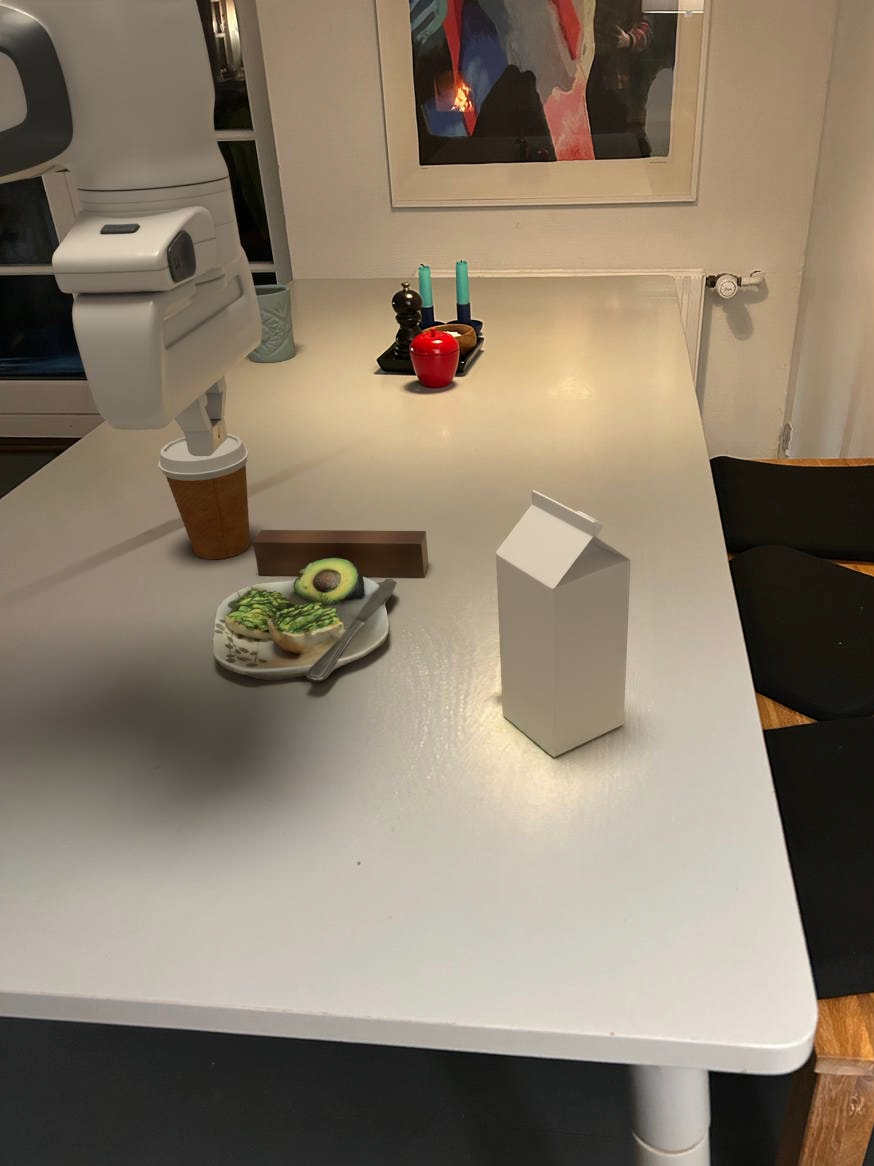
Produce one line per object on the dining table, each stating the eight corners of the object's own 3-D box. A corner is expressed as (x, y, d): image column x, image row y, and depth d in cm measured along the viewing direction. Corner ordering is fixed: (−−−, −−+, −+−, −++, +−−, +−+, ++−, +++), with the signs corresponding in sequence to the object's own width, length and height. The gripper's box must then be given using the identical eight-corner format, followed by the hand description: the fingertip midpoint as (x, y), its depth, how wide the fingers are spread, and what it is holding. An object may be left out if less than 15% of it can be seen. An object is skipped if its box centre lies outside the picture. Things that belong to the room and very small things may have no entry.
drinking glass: (262, 367, 171) (251, 298, 165) (234, 357, 178) (222, 291, 171) (309, 355, 177) (300, 287, 171) (280, 346, 183) (270, 281, 177)
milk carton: (554, 759, 73) (552, 536, 63) (501, 715, 78) (492, 502, 68) (624, 726, 76) (633, 508, 66) (569, 686, 81) (570, 478, 71)
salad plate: (412, 685, 82) (407, 640, 80) (203, 710, 81) (192, 665, 78) (395, 582, 99) (391, 542, 96) (222, 601, 97) (213, 561, 94)
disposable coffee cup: (193, 530, 112) (171, 432, 106) (272, 528, 112) (255, 430, 105) (168, 567, 104) (142, 464, 98) (253, 565, 104) (233, 461, 97)
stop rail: (258, 575, 101) (252, 541, 99) (267, 562, 104) (261, 529, 102) (424, 577, 99) (421, 543, 97) (428, 564, 102) (425, 530, 100)
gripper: (179, 210, 67) (217, 401, 75) (33, 267, 50) (101, 508, 57) (265, 207, 67) (294, 400, 74) (147, 264, 49) (201, 508, 57)
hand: (209, 448), depth 65 cm, fingers closed
